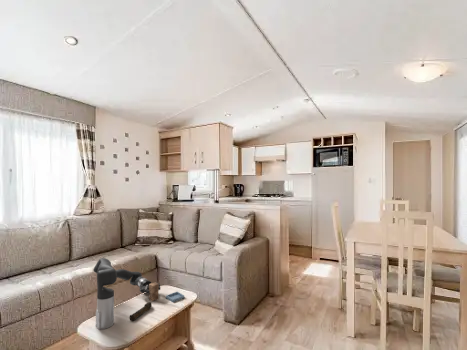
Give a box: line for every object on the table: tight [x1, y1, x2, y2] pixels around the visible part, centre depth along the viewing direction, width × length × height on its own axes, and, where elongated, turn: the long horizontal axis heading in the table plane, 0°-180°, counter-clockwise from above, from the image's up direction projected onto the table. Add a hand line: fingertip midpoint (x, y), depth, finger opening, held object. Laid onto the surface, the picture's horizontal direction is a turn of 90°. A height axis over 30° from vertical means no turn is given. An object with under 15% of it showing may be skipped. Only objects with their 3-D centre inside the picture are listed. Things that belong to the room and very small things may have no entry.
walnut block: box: [148, 281, 160, 302], centre depth 189 cm, size 5×5×11 cm
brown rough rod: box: [129, 301, 152, 322], centre depth 168 cm, size 19×4×5 cm, turn 157°
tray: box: [165, 291, 185, 303], centre depth 190 cm, size 10×10×2 cm
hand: (154, 290), depth 188 cm, fingers open, 8 cm apart
